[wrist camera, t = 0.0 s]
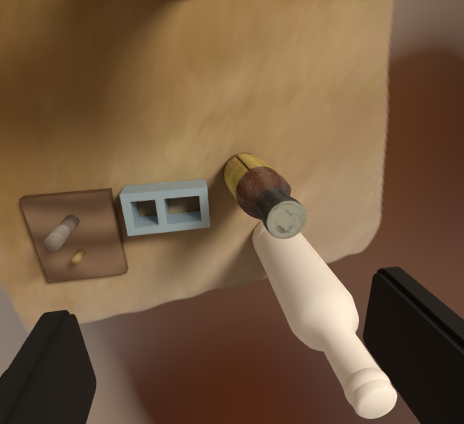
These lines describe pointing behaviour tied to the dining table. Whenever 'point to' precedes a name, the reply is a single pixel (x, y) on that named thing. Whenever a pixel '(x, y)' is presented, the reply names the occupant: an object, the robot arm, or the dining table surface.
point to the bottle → (324, 318)
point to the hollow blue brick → (164, 207)
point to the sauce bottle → (264, 195)
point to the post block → (76, 234)
